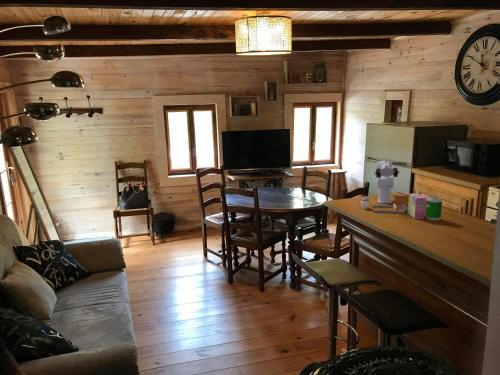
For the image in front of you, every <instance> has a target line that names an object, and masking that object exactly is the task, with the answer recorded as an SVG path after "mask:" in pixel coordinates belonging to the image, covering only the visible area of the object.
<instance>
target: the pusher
mask: <svg viewBox="0 0 500 375" xmlns="http://www.w3.org/2000/svg"><path fill="white" fill-rule="evenodd" d="M392 205H393V208H392V209H393V211H398V208H397V207H396V206H397V204H396V203H392Z"/></svg>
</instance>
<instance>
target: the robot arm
mask: <svg viewBox="0 0 500 375" xmlns="http://www.w3.org/2000/svg"><path fill="white" fill-rule="evenodd" d="M373 171H374V172H373V173H374V174H373V175H374V176H375V178H377V180H376V181H377V182H376V186H377V188H378V198H377V200H376V201H377V203H378V204H393V202H392V201H391V198H392V197H391V195H392V189H393V188H394V184H395V183H394V182H395V179H394V178H398V176H399V174H401V170H400V169H398V168H397V167H393V162H392V161H388V160H380V161H379V160H378V161H377V162H376V169H375V170H373ZM392 176H393V177H392Z"/></svg>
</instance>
